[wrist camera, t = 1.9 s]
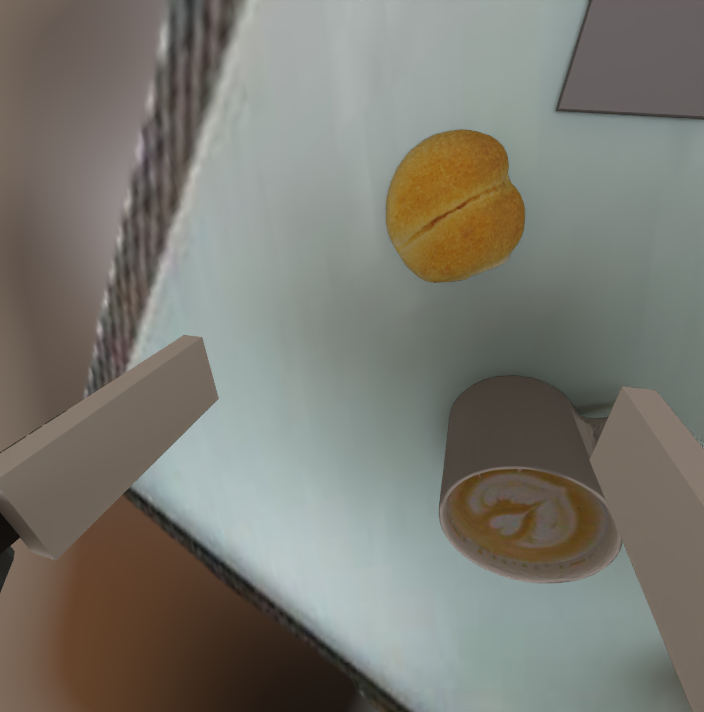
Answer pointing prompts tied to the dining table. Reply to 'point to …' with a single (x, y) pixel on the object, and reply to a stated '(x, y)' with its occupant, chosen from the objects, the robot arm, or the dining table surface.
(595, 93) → the mat
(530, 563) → the coffee mug
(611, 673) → the dining table surface
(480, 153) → the bread roll
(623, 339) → the dining table surface
